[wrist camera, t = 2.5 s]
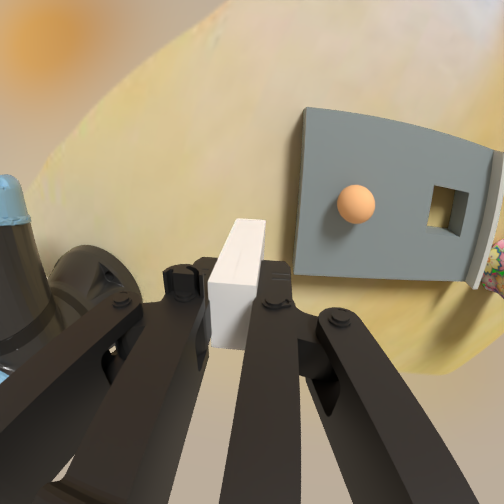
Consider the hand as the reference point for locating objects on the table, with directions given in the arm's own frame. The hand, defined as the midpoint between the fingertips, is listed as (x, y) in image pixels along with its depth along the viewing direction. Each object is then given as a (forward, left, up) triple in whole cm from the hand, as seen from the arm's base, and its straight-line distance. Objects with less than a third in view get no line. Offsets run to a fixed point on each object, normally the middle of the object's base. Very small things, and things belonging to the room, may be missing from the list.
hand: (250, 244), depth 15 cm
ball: (+9, 0, -13) cm, 16 cm away
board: (+16, 0, -16) cm, 22 cm away
